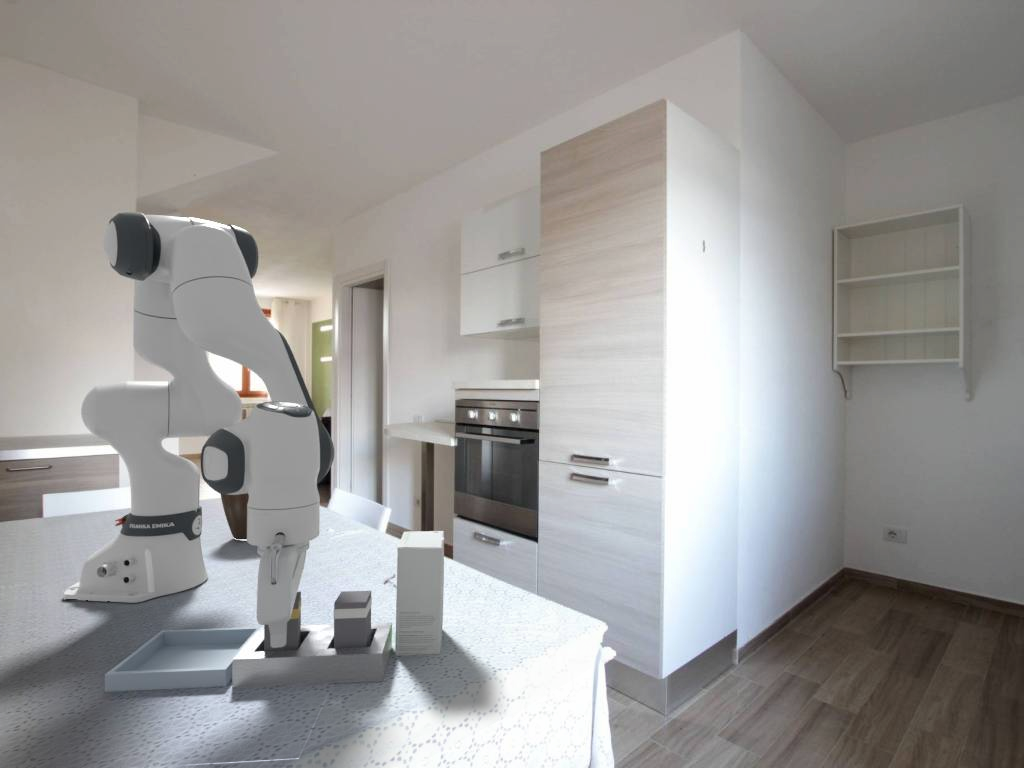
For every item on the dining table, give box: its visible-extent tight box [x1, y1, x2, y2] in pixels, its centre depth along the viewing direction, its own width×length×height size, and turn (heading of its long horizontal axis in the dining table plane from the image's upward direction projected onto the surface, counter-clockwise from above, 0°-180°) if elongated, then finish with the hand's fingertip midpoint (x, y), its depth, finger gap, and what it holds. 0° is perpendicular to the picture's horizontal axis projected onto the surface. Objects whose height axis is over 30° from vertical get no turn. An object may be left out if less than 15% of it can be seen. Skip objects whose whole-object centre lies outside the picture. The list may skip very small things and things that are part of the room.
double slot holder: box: [231, 622, 393, 689], centre depth 70 cm, size 18×9×4 cm, turn 95°
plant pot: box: [220, 493, 249, 539], centre depth 135 cm, size 15×15×16 cm
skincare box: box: [394, 530, 445, 656], centre depth 77 cm, size 8×7×16 cm
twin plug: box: [333, 590, 373, 648], centre depth 70 cm, size 4×4×9 cm
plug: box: [263, 591, 302, 651], centre depth 70 cm, size 4×4×9 cm
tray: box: [104, 626, 262, 693], centre depth 70 cm, size 14×12×3 cm
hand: (283, 630), depth 70 cm, fingers open, 7 cm apart
